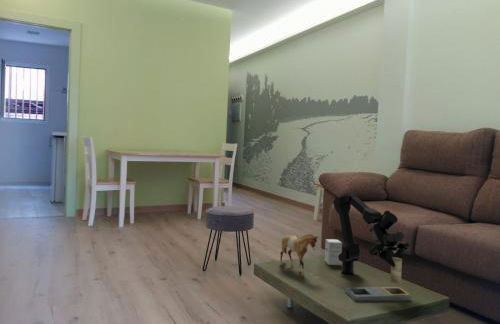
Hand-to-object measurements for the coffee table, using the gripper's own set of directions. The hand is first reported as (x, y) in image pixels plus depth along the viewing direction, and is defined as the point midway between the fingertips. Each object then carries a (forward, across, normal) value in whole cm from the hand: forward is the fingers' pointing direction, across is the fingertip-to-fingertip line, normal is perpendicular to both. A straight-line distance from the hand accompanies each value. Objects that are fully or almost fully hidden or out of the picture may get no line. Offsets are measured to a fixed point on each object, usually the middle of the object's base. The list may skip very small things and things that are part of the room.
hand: (398, 266), depth 173 cm
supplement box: (-27, +2, +46) cm, 54 cm away
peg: (+4, 0, +6) cm, 7 cm away
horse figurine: (-24, -22, +43) cm, 54 cm away
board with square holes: (+7, -8, +12) cm, 16 cm away
